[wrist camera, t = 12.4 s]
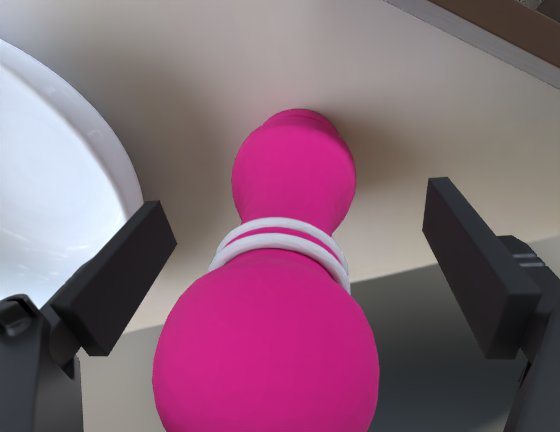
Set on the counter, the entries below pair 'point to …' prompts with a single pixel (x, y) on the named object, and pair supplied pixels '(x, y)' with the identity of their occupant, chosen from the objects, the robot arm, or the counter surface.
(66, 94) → the serving bowl
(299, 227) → the pepper mill
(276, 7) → the counter surface
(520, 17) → the caddy
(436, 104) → the counter surface
